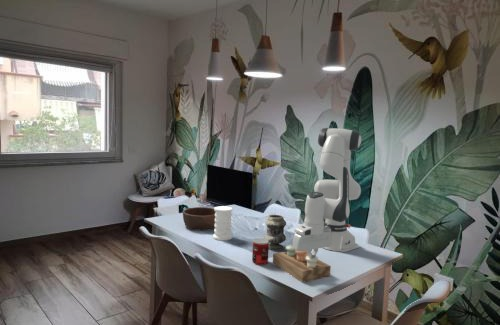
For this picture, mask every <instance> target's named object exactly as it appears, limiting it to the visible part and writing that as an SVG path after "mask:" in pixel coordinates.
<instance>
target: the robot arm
mask: <svg viewBox="0 0 500 325" xmlns="http://www.w3.org/2000/svg"><path fill="white" fill-rule="evenodd" d="M317 144H318V145H319V146H320V147H321V148H322V149H321V153H320V159H319V165H320V168H321V169H322V171H323V172H325V173H326V174H328V175H330V176H332V177H334V178H335V179H327V178H326V179H320V180H319V179H318V180H317V181H316V182H315V184H314V188H313V190H314V191H312V192H309V193H308V194H307V196H306V198H305V200H306V201H305V203H304V204H305V206H304V214H305V215H304V216H305V217H304V220H303V221H304V222H303V223H301V224H299V225H298V226H296V227H295V228H294V232H295V233H294V234H293V239H292V246H293V249H294V250H296V251H298V252H299V251H305V250H307V254H308V258H310V259H311V258H316V257H317V256H316V255H317V253H318V252H319V249H322V248H323V249H325V250H328V251H332V252H333V251H334V252H342V253H347V252H350V251H353V250H355V249H358V248H360V245H359V244H358V243H356V237H355V236H354V235H353V234H352V233H351V231H349V230H348V229H350V228H351V227H352V226H351V224H349V223H346V221H347V219H348V218H349V216H350V201H353V200H357V199H359V198H360V196H361V193H362V188H361V185H360V184H359V183H358V182H357V181H356V180H355V179H354V178H353V176H352V174H351V158H352V153H351V152H353V151H357V150H359V148H360V146H361V144H362V135H361V133H360V131H357V130H354V129H348V128H334V127H333V128H328V127H323V128H321V129H320V130H319V132H318V135H317ZM324 220H325V221H324Z"/></svg>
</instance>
